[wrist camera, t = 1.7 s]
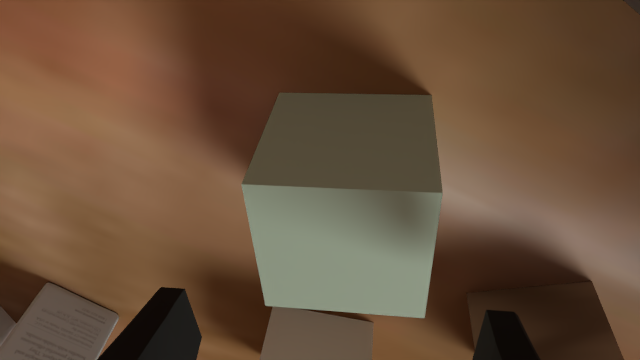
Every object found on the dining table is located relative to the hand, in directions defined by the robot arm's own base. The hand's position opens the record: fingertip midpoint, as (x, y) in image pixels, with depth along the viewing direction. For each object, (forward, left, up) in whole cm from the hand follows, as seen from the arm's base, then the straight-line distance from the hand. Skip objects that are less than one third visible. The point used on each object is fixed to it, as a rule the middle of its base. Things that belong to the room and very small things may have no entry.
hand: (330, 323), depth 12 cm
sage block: (0, 0, -7) cm, 7 cm away
